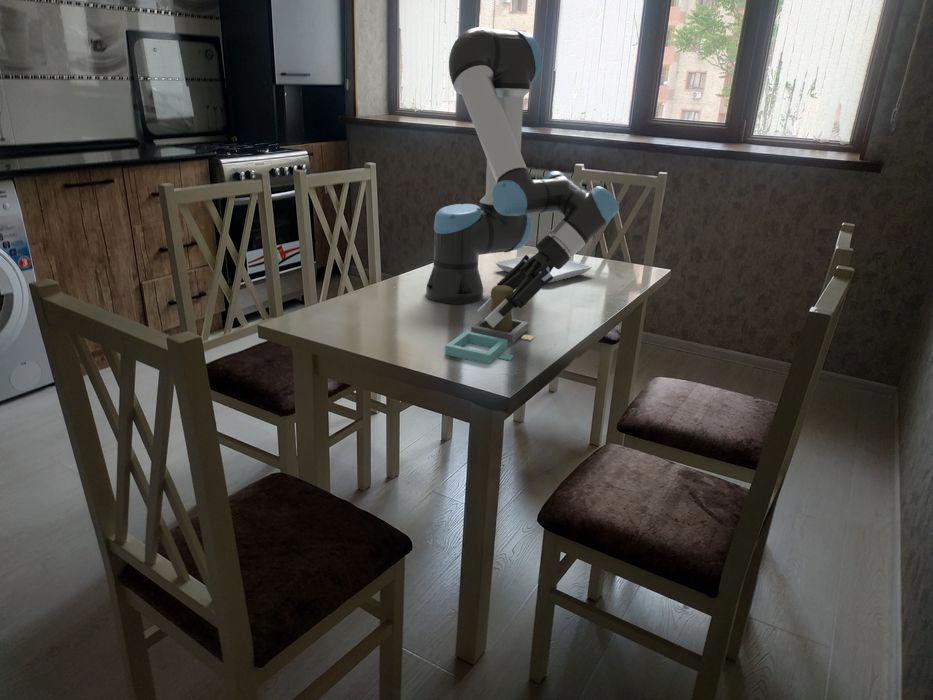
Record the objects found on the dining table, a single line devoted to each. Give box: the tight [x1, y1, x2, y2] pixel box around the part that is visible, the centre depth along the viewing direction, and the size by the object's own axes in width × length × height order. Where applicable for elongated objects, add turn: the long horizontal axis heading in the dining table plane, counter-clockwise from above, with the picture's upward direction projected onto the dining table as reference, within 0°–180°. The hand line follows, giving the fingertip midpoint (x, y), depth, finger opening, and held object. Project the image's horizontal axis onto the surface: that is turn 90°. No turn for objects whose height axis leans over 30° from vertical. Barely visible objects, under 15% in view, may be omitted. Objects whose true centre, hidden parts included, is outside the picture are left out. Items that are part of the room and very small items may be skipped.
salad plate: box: [495, 253, 592, 284], centre depth 200 cm, size 21×21×3 cm
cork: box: [487, 285, 515, 333], centre depth 150 cm, size 6×6×11 cm
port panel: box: [444, 317, 536, 365], centre depth 145 cm, size 13×23×2 cm, turn 155°
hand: (485, 318), depth 150 cm, fingers closed on cork, 5 cm apart
